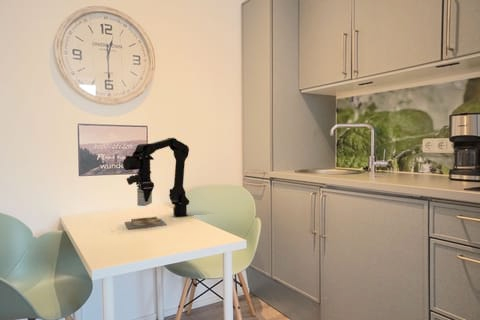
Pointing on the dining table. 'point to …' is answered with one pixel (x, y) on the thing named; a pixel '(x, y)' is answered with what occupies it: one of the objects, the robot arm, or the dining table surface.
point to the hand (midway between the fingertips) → (144, 200)
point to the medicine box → (142, 198)
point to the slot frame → (145, 221)
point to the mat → (130, 226)
